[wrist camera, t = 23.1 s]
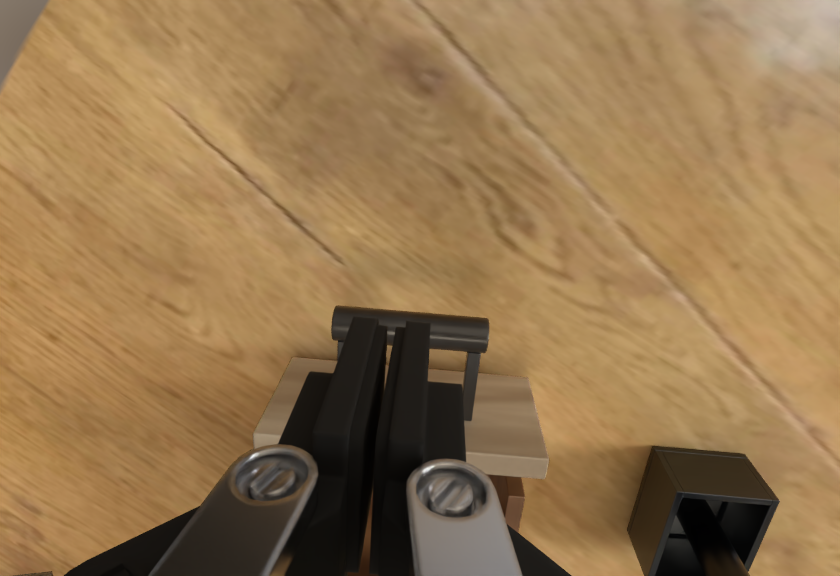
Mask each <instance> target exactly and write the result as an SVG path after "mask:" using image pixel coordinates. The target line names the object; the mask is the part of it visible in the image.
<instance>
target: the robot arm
mask: <svg viewBox="0 0 840 576" xmlns="http://www.w3.org/2000/svg"><path fill="white" fill-rule="evenodd" d="M430 329H431V323H425V322H413V321H406V326H405V327H396V329H395V335H394V340H393V346H392V351H391V357H390V362H389V368H388V373H387V379H386V384H385V369H386V351H387V332H388V327H387V326H383V325H379V319H377V318H365V317H353V319H352V322H351V324H350V327H349V330H348V333H347V336H346V339H345V341H344V344H343V347H342V350H341V353H340V356H339V358H338V361H337V364H336V367H335V370H334V373H326V372H314V371H311V372H309V374H308V375H307V377H306V380H305V382H304V384H303V387H302V389H301V391H300V394H299V396H298V398H297V401H296V403H295V405H294V408H293V410H292V412H291V414H290V417H289V419H288V421H287V424H286V426H285V428H284V431H283V433H282V435H281V438H280V440H279V442H278V444H274V445H266V446H262V447H259V448H256V449H253V450H250V451H249V452H247V453H245V454H243V455H242V456H240V457H239V458H238V459H237V460H236V461H235V462H234V463H233V464H232V465H231V466H230V467H229V468H228V470H227V471H226V472H225V474H224V475H223V476H222V478H221V479H220V480H219V482H218V483H217V484H216V486H215V487H214V488H213V490H212V491H211V492H210V494H209V495H208V496H207V498H206V499H205V500H204V502H203V503H202V504H201V506H199V507H197V508H195V509H193V510H191V511H188V512H186V513H184V514H182V515H180V516H178V517H176V518H174V519H172V520H170V521H168V522H166V523H164V524H161V525H159V526H157V527H155V528H153V529H151V530H149V531H147V532H145V533H143V534H141V535H139V536H137V537H135V538H132V539H130V540H128V541H126V542H124V543H122V544H120V545H118V546H116V547H114V548H112V549H110V550H108V551H105V552H103V553H101V554H99V555H97V556H95V557H93V558H91V559H89V560H87V561H85V562H83V563H82V564H80V565H78V566H77V567H75V568H73V569H72V570H70V571H69V572H68V573H67V574H65V575H64V576H347V574H348V572H353V573H359V569H360V564H361V558H362V552H363V546H364V540H365V534H366V528H367V522H368V516H369V510H370V504H371V498H372V492H373V501H372V522H371V543H370V564H369V574H375V575H379V576H571V575H570V574H569V573H567V572H566V571H565V570H564V569H562V568H561V567H560V566H559V565H557V564H556V563H555V562H554V561H553V560H551V559H550V558H549V557H548V556H546V555H545V554H544V553H543V552H541V551H540V550H539V549H538V548H536V547H535V546H534V545H533V544H531V543H530V542H529V541H528V540H526V539H525V538H524V537H523V536H521V535H520V534H519V533H518V532H516V531H515V530H514V529H513V528H511V527H510V526H509V525H508V524H506V521H505V518H504V514H503V511H502V508H501V505H500V502H499V498H498V495H497V492H496V489H495V487H494V485H493V483H492V481H491V479H490V478H489V477H488V476H487V475H486V474H485V473H484V472H483V471H482V470H480V469H479V468H477V467H475V466H474V465H472V464H470V463H467V462H466V445H465V426H464V406H463V388H462V384H455V383H443V382H432V381H428V365H429V347H430ZM384 388H385V390H384ZM15 576H53V574H52V571H50V572H41V573H32V574H24V575H15Z"/></svg>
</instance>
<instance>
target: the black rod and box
mask: <svg viewBox="0 0 840 576" xmlns="http://www.w3.org/2000/svg"><path fill="white" fill-rule="evenodd" d="M779 502H780V501H779V499H778V498H777V497H776V495H775V494H774V493H773V491H772V490H771V489H770V487H769V486H768V485H767V483H766V482H765V481H764V479H763V478H762V477H761V475H760V474H759V473H758V471H757V470H756V469H755V467H754V466H753V465H752V463H751V462H750V461H749V459H748V458H747V457H746V455H745V454H737V453H726V452H715V451H704V450H693V449H681V448H670V447H659V446H653V447H652V450H651V454H650V457H649V460H648V464H647V467H646V470H645V473H644V477H643V480H642V483H641V486H640V490H639V493H638V496H637V500H636V503H635V506H634V509H633V513H632V516H631V519H630V522H629V526H628V529H627V531H628V534H629V537H630V539H631V542H632V545H633V547H634V550H635V552H636V555H637V558H638V560H639V563H640V566H641V568H642V571H643V574H644V576H750V575H749V573H748V571H749V569H750V567H751V565H752V562H753V560H754V558H755V556H756V553H757V551H758V549H759V547H760V544H761V542H762V540H763V538H764V535H765V533H766V531H767V529H768V526H769V524H770V522H771V520H772V517H773V515H774V513H775V511H776V508H777V506H778V504H779Z"/></svg>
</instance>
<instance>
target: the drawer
mask: <svg viewBox="0 0 840 576" xmlns="http://www.w3.org/2000/svg"><path fill="white" fill-rule="evenodd" d="M353 317H365V318H377V319H379V325H383V326H387V327H388V332H387V345H393V340H394V335H395V329H396V327H405V326H406V321H413V322H425V323H431V329H430V347H429V349H441V350H453V351H464V352H467V355H466V363H465V371H464V372H461V371H449V370H438V369H428V381H432V382H443V383H455V384H462V388H463V406H464V426H465V445H466V462H467V463H470V464H472V465H474V466H475V467H477V468H479V469H480V470H482V471H483V472H484V473H485V474H486V475H487V476H488V477H489V478H490V479H491V481H492V483H493V485H494V487H495V489H496V492H497V495H498V498H499V502H500V505H501V508H502V511H503V514H504V518H505V521H506V524H508V525H509V526H510V527H511V528H513V529H514V530H515V531H516V532H518V531H519V526H520V521H521V516H522V511H523V505H524V500H525V494H524V489H523V483H522V477H523V478H534V479H545V478H546V473H547V468H548V463H549V457H548V453H547V449H546V445H545V441H544V437H543V433H542V429H541V425H540V421H539V417H538V413H537V409H536V406H535V402H534V398H533V394H532V390H531V386H530V382H529V378H528V377H519V376H508V375H496V374H484V373H478V371H479V363H480V356H481V353H486V351H487V347H488V340H489V320H488V319H487V318H479V317H467V316H455V315H444V314H432V313H420V312H408V311H396V310H384V309H373V308H361V307H349V306H336V307H335V309H334V312H333V317H332V328H331V333H332V339H333V340H336V341H338V356H337V361H338V358H339V356H340V353H341V350H342V347H343V344H344V341H345V339H346V336H347V333H348V330H349V327H350V324H351V322H352V319H353ZM337 361H333V360H321V359H310V358H298V357H292V358H291V360H290V362H289V364H288V366H287V368H286V370H285V372H284V374H283V376H282V378H281V380H280V382H279V384H278V386H277V388H276V390H275V392H274V394H273V395H272V397H271V399H270V401H269V403H268V405H267V407H266V409H265V411H264V413H263V415H262V417H261V419H260V421H259V423H258V425H257V427H256V429H255V431H254V432H253V443H254V449H256V448H259V447H262V446H266V445H274V444H278V442H279V440H280V438H281V435H282V433H283V431H284V428H285V426H286V424H287V421H288V419H289V417H290V414H291V412H292V410H293V408H294V405H295V403H296V401H297V398H298V396H299V394H300V391H301V389H302V387H303V384H304V382H305V380H306V377H307V375H308V374H309V372H311V371H314V372H326V373H334V370H335V367H336V364H337ZM388 368H389V365H386V369H385V384H386V379H387V373H388ZM384 390H385V388H384ZM372 501H373V492H372V498H371V504H370V510H369V516H368V522H367V528H366V534H365V540H364V546H363V552H362V558H361V564H360V569H359V573H353V572H348V574H347V576H379V575H375V574H369V564H370V543H371V522H372Z"/></svg>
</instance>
